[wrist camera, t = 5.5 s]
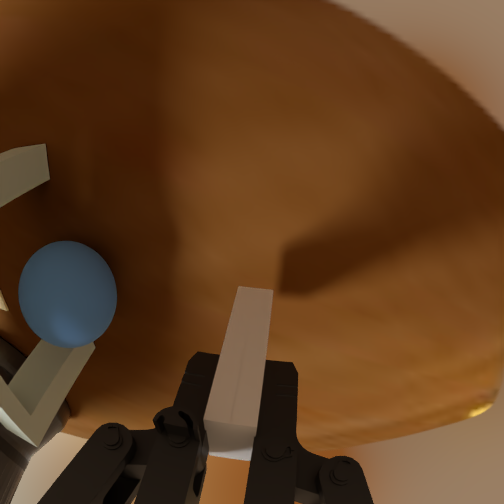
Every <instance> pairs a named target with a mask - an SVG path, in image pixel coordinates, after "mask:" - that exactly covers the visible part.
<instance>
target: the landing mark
mask: <svg viewBox="0 0 504 504" xmlns="http://www.w3.org/2000/svg"><path fill="white" fill-rule="evenodd" d="M0 309H3V310H5V311H8V310H9V309H8V307H7V305H6V302H5V300H4V298H3V295H2V293H1V290H0Z"/></svg>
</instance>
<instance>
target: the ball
mask: <svg viewBox="0 0 504 504" xmlns="http://www.w3.org/2000/svg"><path fill="white" fill-rule="evenodd" d="M18 295H19V304H20V308H21V311H22V314H23V316H24V318H25V320H26V322H27V324H28V325H29V327H30V328H31V329H32V330H33V332H34V333H35V334H37V335H38V336H39V337H40V338H41V339H43V340H44V341H46V342H48V343H50V344H52V345H54V346H58V347H63V348H77V347H82V346H84V345H87V344H89V343H91V342H93V341H95V340H96V339H97V338H99V337H100V336H101V335H102V334H103V333H104V332H105V330H106V329H107V328H108V326H109V325H110V323H111V321H112V319H113V316H114V313H115V310H116V304H117V289H116V283H115V280H114V277H113V274H112V272H111V270H110V268H109V266H108V265H107V263H106V262H105V260H104V259H103V258H102V257H101V256H100V255H99V254H98V253H97V252H96V251H94V250H93V249H92V248H90V247H88V246H86V245H84V244H81V243H79V242H74V241H57V242H53V243H50V244H48V245H46V246H44V247H42V248H41V249H39V250H38V251H37V252H35V253H34V254H33V255H32V257H31V258H30V259H29V260H28V262H27V263H26V265H25V267H24V269H23V271H22V274H21V277H20V281H19V288H18Z"/></svg>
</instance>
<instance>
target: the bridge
mask: <svg viewBox="0 0 504 504" xmlns="http://www.w3.org/2000/svg"><path fill="white" fill-rule="evenodd" d="M48 180H50V176H49V168H48V161H47V152H46V144H39V145H32V146H25V147H19V148H13V149H10V150H8V151H5V152H3V153H0V207H2V206H4V205H5V204H7V203H9V202H10V201H12V200H14V199H15V198H17V197H19V196H20V195H22V194H24V193H26V192H27V191H29V190H31V189H33V188H35V187H36V186H38V185H40V184H42V183H44V182H46V181H48ZM94 349H95V345H94V342H91V343H89V344H87V345H84V346H82V347H77V348H63V347H58V346H54V345H52V344H50V343H48V342H46V341H44V340H43V339H41V340H40V342H39V343H38V344H37V346H36V347H35V348H34V350H33V351H32V352H31V354H30V355H29V356H28V358H27V359H26V360H25V362H24V363H23V365H22V366H21V367H20V369H19V370H18V372H17V373H16V374H15V376H14V377H13V379H12V380H11V382H10V383H9V384H8V386H7V384H6V383H5V381H4V380H3V379H2V377H1V376H0V422H1V423H2V425H3V426H4V427H5V428H6V429H8V430H9V431H11V432H12V433H14V434H16V435H17V436H19V437H21V438H22V439H24V440H26V441H27V442H29V443H31V444H32V445H34V446H36V447H39V445H40V443H41V441H42V439H43V437H44V435H45V433H46V431H47V430H48V428H49V426H50V424H51V422H52V420H53V419H54V417H55V415H56V413H57V411H58V410H59V408H60V406H61V404H62V403H63V401H64V399H65V397H66V396H67V394H68V392H69V390H70V389H71V387H72V385H73V384H74V382H75V380H76V379H77V377H78V375H79V374H80V372H81V370H82V369H83V367H84V366H85V364H86V362H87V361H88V359H89V357H90V356H91V354H92V353H93V351H94Z"/></svg>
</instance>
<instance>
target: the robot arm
mask: <svg viewBox="0 0 504 504" xmlns="http://www.w3.org/2000/svg"><path fill="white" fill-rule="evenodd" d="M272 299H273V290H269V289H260V288H250V287H241V286H238V290H237V294H236V298H235V301H234V305H233V309H232V313H231V316H230V320H229V324H228V328H227V331H226V335H225V339H224V343H223V346H222V350H221V354H220V355H217V354H210V353H204V352H197V353H196V354H195V355H194V356H193V357H192V358H191V359H190V360H189V361H188V364H187V367H186V370H185V374H184V375H183V378H182V382H181V384H180V387H179V390H178V393H177V396H176V398H175V401H174V404H173V407H168V408H165V409H162V410H161V411H160V412H158V413H157V414H156V415H155V417H154V418H153V422H154V425H155V427H156V428H154V429H149V430H128V429H127V428H126V427H125V426H124V425H121V424H119V423H107V424H104V425H102V426H100V427H99V428H98V429H97V430H96V431H95V432H94V433H93V435H92V436H91V437H90V438H89V440H88V441H87V442H86V443H85V445H84V446H83V447H82V448H81V450H80V451H79V452H78V453H77V455H76V456H75V457H74V458H73V460H72V461H71V462H70V463H69V465H68V466H67V467H66V468H65V469H64V471H63V472H62V473H61V474H60V476H59V477H58V478H57V479H56V481H55V482H54V483H53V485H52V486H51V487H50V488H49V490H48V491H47V492H46V493H45V495H44V496H43V497H42V498H41V500H40V501H39V502H38V503H37V504H131V503H132V501H133V500H134V498H135V497H136V500H135V502H134V504H199V501H200V496H201V492H202V488H203V483H204V479H205V474H206V460H207V456H208V452H209V455H213V456H219V457H226V458H232V459H239V460H247V461H250V468H249V474H248V481H247V487H246V494H245V499H244V504H294V501H296V502H299V503H302V504H374V503H373V500H372V497H371V494H370V491H369V489H368V485H367V482H366V479H365V476H364V473H363V470H362V468H361V466H360V465H359V463H358V462H357V461H355V460H354V459H353V458H350V457H347V456H335V457H333V458H330V459H328V458H325V457H322V456H319V455H316V454H313V453H311V452H309V451H307V450H306V449H304V448H303V447H302V446H301V444H300V443H299V442H298V439H297V435H296V422H297V395H298V372H297V370H296V368H295V366H294V364H293V362H282V361H272V360H266V352H267V344H268V335H269V326H270V317H271V308H272ZM25 360H26V358H25V357H24V356H23V355H22V354H21V353H20V352H18V351H17V350H16V349H15V348H14V347H12V346H11V345H10V344H8V343H7V342H6V341H4V340H3V339H1V338H0V376H1V377H2V379H3V380H4V381H5V383H6V384H7V386H8V384H9V383H10V382H11V380H12V379H13V377H14V376H15V374H16V373H17V372H18V370H19V369H20V367H21V366H22V365H23V363H24V362H25ZM69 417H70V409H69V406H68V404H67V403H66V401H65V399H64V401H63V403H62V404H61V406H60V408H59V410H58V411H57V413H56V415H55V417H54V419H53V420H52V422H51V424H50V426H49V428H48V430H47V431H46V433H45V435H44V437H43V439H42V441H41V443H40V445H39V447H36V446H34V445H32V444H31V443H29V442H27V441H26V440H24V439H22V438H21V437H19V436H17V435H16V434H14V433H12V432H11V431H9V430H8V429H6V428H5V427H4V426H3V425H2V423H1V422H0V504H10V503H11V501H12V498H13V496H14V493H15V491H16V489H17V486H18V484H19V482H20V480H21V477H22V475H23V473H24V471H25V469H26V467H27V465H28V463H29V461H30V459H31V457H32V456H33V455H34V454H35V453H36V452H37V451H38V450H39V449H41V448H42V447H43V446H44V445H45V444H46V443H47V442H49V441H50V440H51V439H52V438H53V437H54V436H55V435H56V434H57V433H59V432H61V431H62V429H63V428H64V427H65V425H66V423H67V421H68V419H69ZM136 495H137V496H136Z"/></svg>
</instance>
